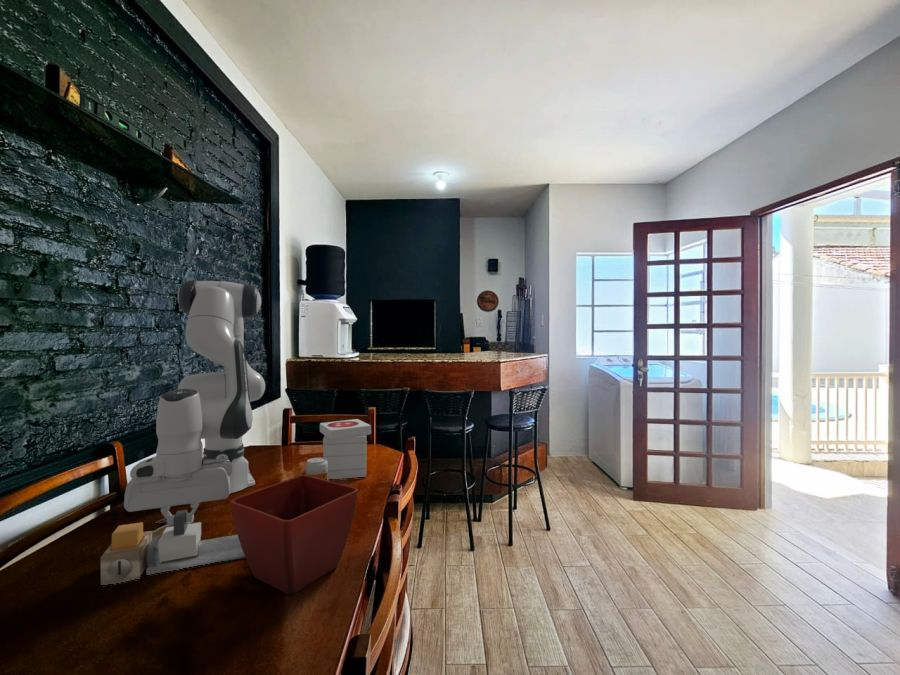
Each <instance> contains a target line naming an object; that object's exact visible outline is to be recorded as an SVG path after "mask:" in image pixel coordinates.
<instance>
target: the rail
mask: <svg viewBox="0 0 900 675" xmlns="http://www.w3.org/2000/svg"><path fill="white" fill-rule="evenodd" d="M159 539H160V535H157V536H155V537H154V538H153V540H152V542H151V543H150V545H149V547H148V565H147V567H146V569H145V571H146V574H145V575H150V576H152V575H151V574H155V573H160V574H162V573H161V572H166V571H171V572H174V571H173V570H176V571H180V570H179V569H182V570H184V569H183V568H187V569H190V568H189V567H192V568H194V567H193V566H198V565H203V566H206V565H205V564H208V565H211V564H210V563H214V564H216V563H215V562H219V563H222V562H221V561H224V562H229V560H230V561H235V560H240V559H246V557H245V555H244V552H243V550H242V547H241V544H240V541H239V538H238V535H237V534H232V535H227V536H220V537H215V538H209V539H202V540H201V541H199V542H198V554H197V556H191V557H185V558H180V559H174V560H169V561H163V562H160V555H159V553H158V541H159ZM198 567H199V566H198ZM166 573H167V572H166ZM155 575H156V574H155Z"/></svg>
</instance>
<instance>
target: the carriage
mask: <svg viewBox="0 0 900 675" xmlns="http://www.w3.org/2000/svg"><path fill="white" fill-rule="evenodd" d="M186 513H188V509H182V510H177V511H176V513H175V514H174V515H175V516H174V518H173V522H174V526H173V527H167V528H166V529H165V531H164V532H163V534H162V536H161V538H160V539H159V541H158V553H159V555H160V562H163V561H169V560H174V559H180V558H185V557H191V556H197V554H198V542H199V541H202V540H201V537H202V522H200V521H199V522H192V523H191V524H188V523H185V515H186Z"/></svg>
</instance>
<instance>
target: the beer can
mask: <svg viewBox="0 0 900 675" xmlns="http://www.w3.org/2000/svg"><path fill="white" fill-rule="evenodd" d="M305 475H308V476H312V477H315V478H319V479H323V480H327V481H329V480H328V462H327V460H326V458H323V457H321V456H318V457H312V458H309V459H307V460H306V464H305Z"/></svg>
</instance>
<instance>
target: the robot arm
mask: <svg viewBox="0 0 900 675" xmlns="http://www.w3.org/2000/svg"><path fill="white" fill-rule="evenodd" d="M177 303H178V305H179V306H178V307H179V309H180V310H181V311H182V312H183V313H184V314H187V315H188V317H187V320H186V324H185V325H186V326H185V341H186V343H187V345H188V346H189V347H190V349H191V350H193V351H194V352H195V353H197V354H198V355H200V356H202V357H204V358H207V359H208V360H209V361H211V362H213V363H215V364H217V365H220V366H222V367H224V368H225V369H226V370H225V371H222V372H221V371H219V372H201V373H196V374H191V375H187V376H185V377H183V378H182V379H181V380H180V383H179V384H178V386H177V389H174V390H170V391H167V392H165V393H163V394H161V396H160V397H159V400H158V404H157V412H156V422H155V424H156V426H155V428H156V429H155V431H156V437H157V440H158V442H157V446H156V447H157V448H156V452H155V453H156V454H155V456H152V457H150V458H148V459H144V460H141V461H139V462H138V463H137V464H135V465H134V466H133V467H132V468H131V470H130V471H129V473H130V474H129V476H130V478H131V479H130V480H129V482H128V483H127V484H126V487H125V492H124V496H123V497H124V501H123V507H124V509H125V510H126V511H127V512H128V513H130V512H131V513H132V512H139V511H145V510H146V511H147V510H153V509H160V512H161V515H163V517H164V519H165V518H166V519H167V521H166V525H167V526H171V525H174V522H173V518H174V516H175V514H172V513H171V512H170V509H171V507H175V506H181V505H190V508H191V510H190V512H187V513H186V515H185V523H191V524H192V523H194V520H195V515H194V514H195V512H196V511H197V509H198V508H199V506H200V503H202V502H203V503H204V502H211V501H212V502H214V501H219V500H226V499H228V497H229V496H230V494H233V493H236V492H239V491H242V490H244V489H246V488H248V487H252V486H254V485H256V481H255V479H254V477H253V476H252V474H251V471H250V469H249V461H248V460H247V458H245V457H244V455H245V447H244V445H245V444H244V443H243V436H244V435H246V433H248V432H249V431H250V430H251V429H252V425H253V418H254V416H253V410H252V405H251V402H254V401H258V400H260V399H261V398H262V396H263V395H264V393H265V391H266V382H265V379H264V377H263V376H262V375H261V373H259V372H257V371H256V370H255V369H254V368H252V367H251V365H250V364H249V363H248V361H247V358H246V357H247V356H246V352H245V348H244V347H245V346H244V345H245V344H244V342H245V341H244V340H245V339H244V338H245V337H244V335H245V332H244V331H245V330H244V329H245V327H244V325H245V324H244V320H245V321H247V320H248V319H252V318H254V317H255V316H257V315H258V313H259V311H260V310H261V306H262V296H261V294H260V291H259V289H258V287H256V286H254V285H252V284H247V283H245V284H243V283H237V282H232V281H226V280H225V281H224V280H221V281H219V280H218V281H215V280H198V279H192V280H190V279H189V280H186V281H184V282H183V283H181V285H180V287H179V289H178V292H177ZM203 439H204V445H203V443H202V440H203ZM203 446H204V448H203Z"/></svg>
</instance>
